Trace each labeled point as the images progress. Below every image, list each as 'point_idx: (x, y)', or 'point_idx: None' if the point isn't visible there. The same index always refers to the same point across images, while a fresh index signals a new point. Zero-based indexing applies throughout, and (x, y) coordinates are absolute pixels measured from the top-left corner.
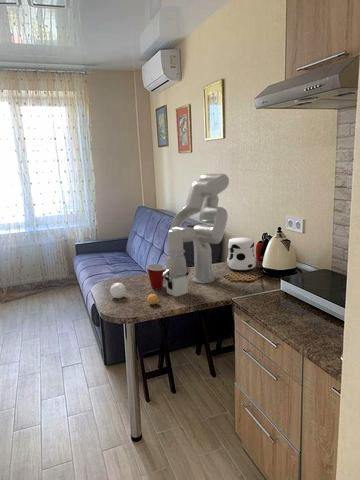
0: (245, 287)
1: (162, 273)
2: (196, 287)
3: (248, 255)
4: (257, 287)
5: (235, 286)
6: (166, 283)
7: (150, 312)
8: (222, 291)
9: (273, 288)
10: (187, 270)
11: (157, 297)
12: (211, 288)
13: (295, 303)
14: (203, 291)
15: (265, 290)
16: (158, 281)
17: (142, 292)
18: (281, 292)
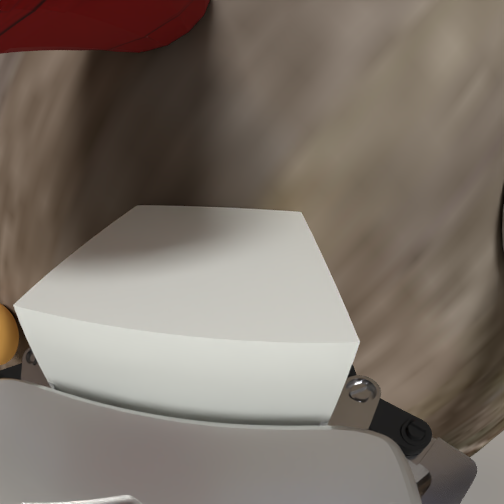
0: (494, 407)
1: (45, 23)
2: (432, 289)
3: None
4: (498, 418)
5: (499, 386)
6: (83, 247)
7: (4, 365)
8: (429, 413)
9: (495, 434)
10: (417, 486)
11: (7, 356)
12: (452, 360)
13: None
14: (385, 376)
15: (477, 441)
16: (73, 49)
17: (7, 73)
18: (469, 457)
